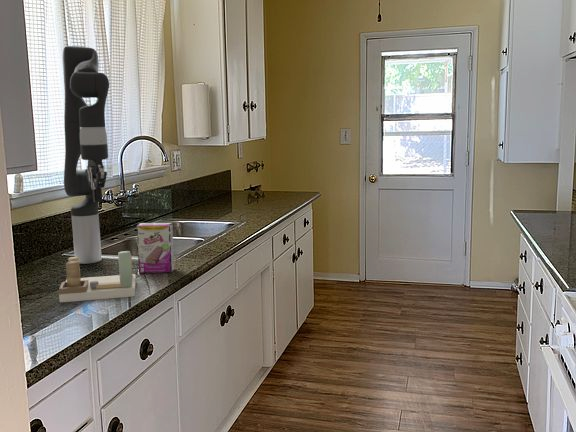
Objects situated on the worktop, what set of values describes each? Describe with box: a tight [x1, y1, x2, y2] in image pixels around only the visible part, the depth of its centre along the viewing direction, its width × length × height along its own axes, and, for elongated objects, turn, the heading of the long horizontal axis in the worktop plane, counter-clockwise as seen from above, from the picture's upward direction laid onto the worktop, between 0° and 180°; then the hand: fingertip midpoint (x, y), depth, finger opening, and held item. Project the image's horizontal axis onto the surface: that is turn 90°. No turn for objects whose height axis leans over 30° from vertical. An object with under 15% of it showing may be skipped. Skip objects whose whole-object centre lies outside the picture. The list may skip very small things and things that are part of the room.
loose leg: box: [65, 261, 81, 287], centre depth 167 cm, size 4×4×8 cm
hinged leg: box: [90, 250, 133, 289], centre depth 168 cm, size 12×3×10 cm, turn 100°
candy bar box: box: [136, 222, 175, 274], centre depth 194 cm, size 11×5×16 cm, turn 92°
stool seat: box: [58, 253, 137, 303], centre depth 173 cm, size 16×21×9 cm
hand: (97, 201), depth 171 cm, fingers closed
